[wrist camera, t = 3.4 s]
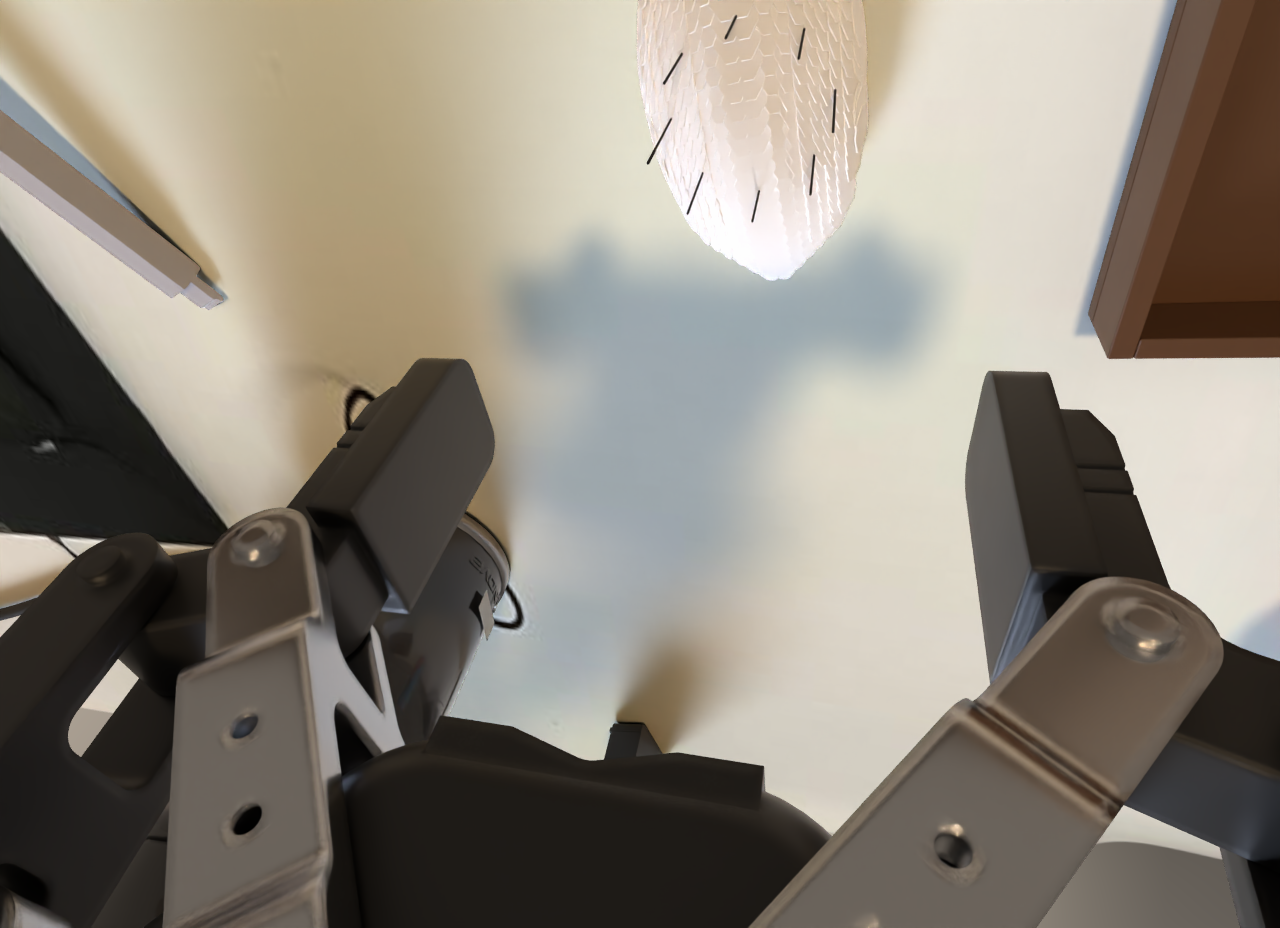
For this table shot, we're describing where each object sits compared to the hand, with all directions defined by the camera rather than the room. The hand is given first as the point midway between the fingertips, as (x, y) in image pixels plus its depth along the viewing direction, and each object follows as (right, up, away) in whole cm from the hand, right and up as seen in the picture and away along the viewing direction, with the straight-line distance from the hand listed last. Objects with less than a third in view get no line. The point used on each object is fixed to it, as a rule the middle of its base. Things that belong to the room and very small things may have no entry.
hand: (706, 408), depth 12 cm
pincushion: (+2, +10, +10) cm, 14 cm away
